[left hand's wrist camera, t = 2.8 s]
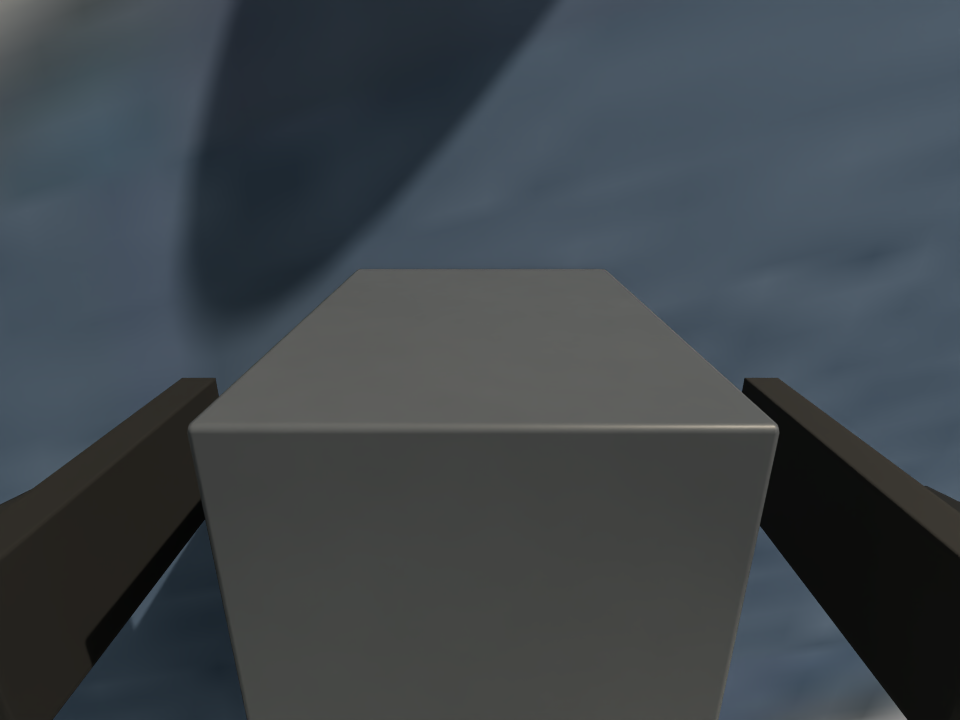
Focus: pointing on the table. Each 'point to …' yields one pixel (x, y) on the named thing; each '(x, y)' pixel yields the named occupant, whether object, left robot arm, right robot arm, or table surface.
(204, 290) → the table surface
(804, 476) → the left robot arm
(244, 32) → the table surface
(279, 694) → the box
